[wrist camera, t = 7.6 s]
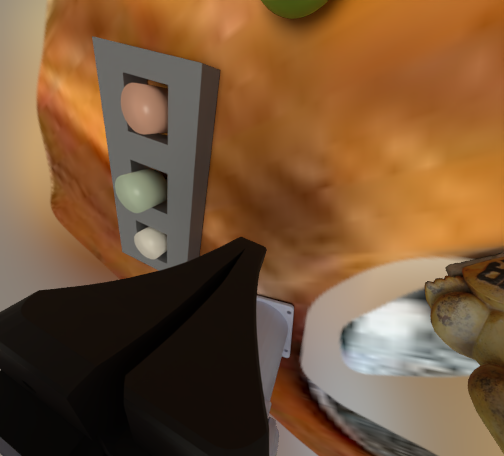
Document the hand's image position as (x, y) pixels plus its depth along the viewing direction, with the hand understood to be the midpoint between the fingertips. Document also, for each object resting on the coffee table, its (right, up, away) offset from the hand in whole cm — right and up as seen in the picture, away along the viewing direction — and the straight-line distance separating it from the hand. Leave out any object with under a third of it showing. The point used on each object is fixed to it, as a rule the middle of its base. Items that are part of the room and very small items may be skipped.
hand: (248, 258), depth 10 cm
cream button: (-11, +1, +17) cm, 20 cm away
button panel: (-9, +7, +13) cm, 17 cm away
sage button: (-10, +6, +12) cm, 16 cm away
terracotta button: (-8, +12, +9) cm, 17 cm away
